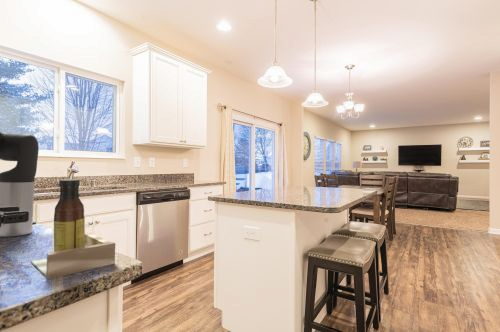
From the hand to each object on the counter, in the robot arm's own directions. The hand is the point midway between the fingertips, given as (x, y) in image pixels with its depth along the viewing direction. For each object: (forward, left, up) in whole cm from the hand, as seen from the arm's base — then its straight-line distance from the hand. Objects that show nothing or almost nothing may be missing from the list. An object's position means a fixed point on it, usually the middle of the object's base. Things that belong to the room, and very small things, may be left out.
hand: (23, 213), depth 59 cm
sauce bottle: (0, +9, -13) cm, 16 cm away
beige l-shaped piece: (0, +10, -13) cm, 16 cm away
